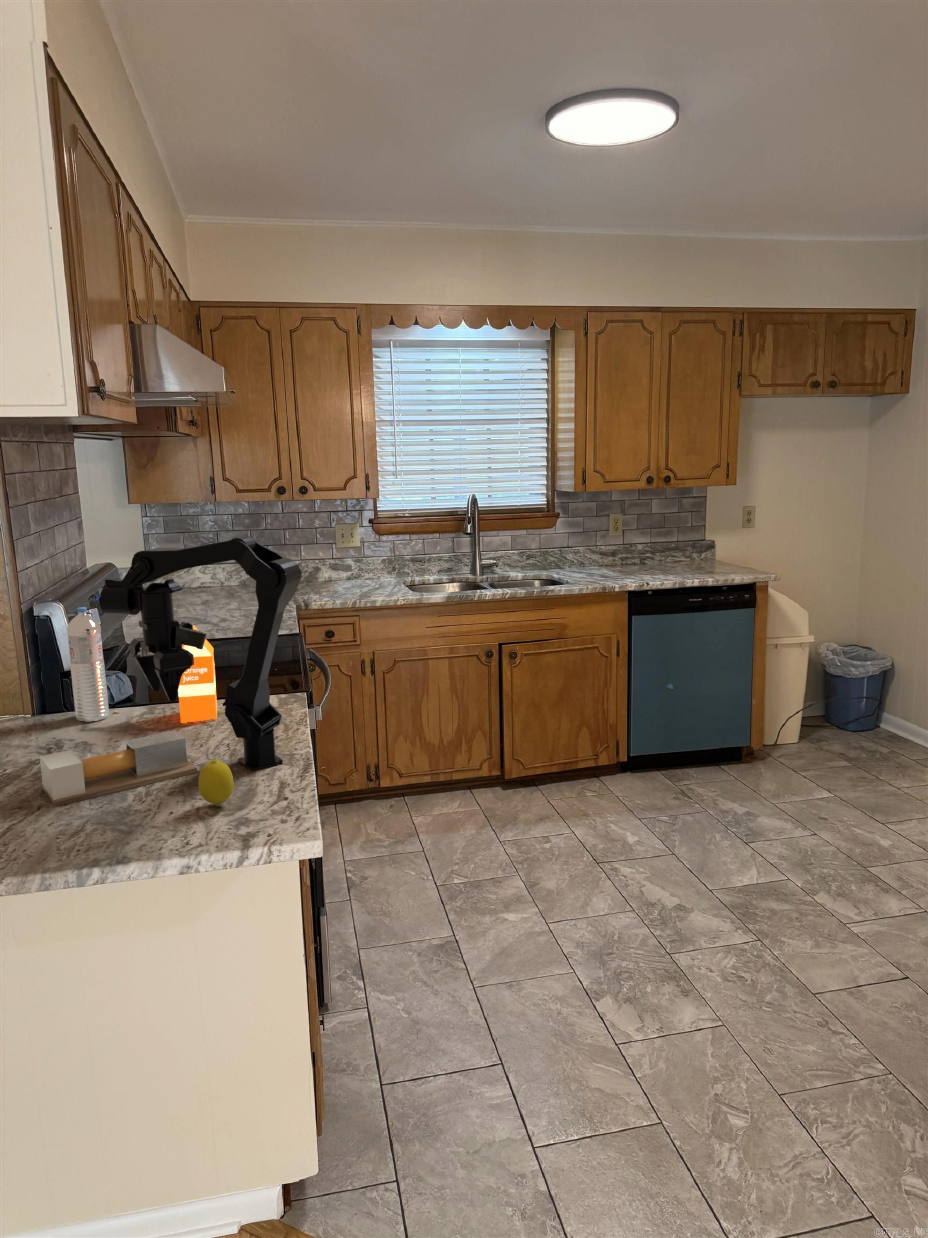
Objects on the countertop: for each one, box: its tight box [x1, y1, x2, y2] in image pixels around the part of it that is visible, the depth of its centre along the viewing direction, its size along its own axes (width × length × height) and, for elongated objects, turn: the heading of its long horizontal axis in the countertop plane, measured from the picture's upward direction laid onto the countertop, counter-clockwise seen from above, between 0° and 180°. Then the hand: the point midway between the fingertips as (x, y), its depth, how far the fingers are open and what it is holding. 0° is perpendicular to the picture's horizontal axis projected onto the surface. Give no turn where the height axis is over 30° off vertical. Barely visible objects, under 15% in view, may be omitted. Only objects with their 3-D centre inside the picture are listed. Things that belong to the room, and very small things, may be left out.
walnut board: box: [41, 760, 198, 807], centre depth 149 cm, size 10×24×1 cm, turn 128°
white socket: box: [39, 749, 86, 800], centre depth 143 cm, size 8×5×5 cm, turn 38°
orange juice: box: [177, 625, 218, 724], centre depth 184 cm, size 8×9×20 cm
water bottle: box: [66, 606, 110, 723], centre depth 183 cm, size 7×7×25 cm
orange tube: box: [80, 749, 136, 780], centre depth 147 cm, size 4×13×4 cm, turn 128°
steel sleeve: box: [124, 730, 188, 778], centre depth 152 cm, size 6×9×5 cm, turn 128°
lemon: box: [197, 759, 235, 807], centre depth 137 cm, size 6×6×8 cm
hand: (164, 696), depth 159 cm, fingers open, 9 cm apart
